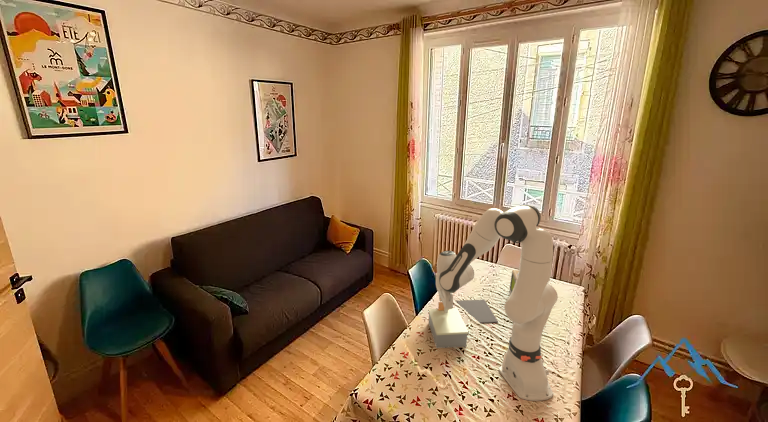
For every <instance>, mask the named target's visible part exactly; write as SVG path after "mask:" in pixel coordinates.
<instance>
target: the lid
mask: <svg viewBox="0 0 768 422" xmlns="http://www.w3.org/2000/svg"><path fill="white" fill-rule="evenodd" d="M437 307H438V308H428V315H429V314H430V317H431V320H432V323H433V326H434V329H435V332H436V335H454V334H467V335H468V334H469V330H468V328H467V326H466V324H465V322H464V319H463V317H462V314H461V313H460V311H459V309H458V307H453V308H452V309H448V312H447V313H444V305H443V303H442V301H441V302H440V301H439V302H438V305H437Z"/></svg>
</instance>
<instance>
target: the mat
mask: <svg viewBox="0 0 768 422" xmlns="http://www.w3.org/2000/svg"><path fill="white" fill-rule="evenodd" d="M456 303H457V304H458V305H459V306H460V307H461V308H462V309H463V310H465V312H467V313H468V314H469V315H470V316H471V317H472V318H474V319H475V320H476V321H477V322H478V323H479V324H493V323H494V324H495V323H499V320H498V319H497V317H496V315H495V314H494V313H493V311H492V309H491V308H490V306H489V305H488V303H487V302H486V300H485V299H467V300H464V299H463V300H456Z"/></svg>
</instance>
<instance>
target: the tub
mask: <svg viewBox="0 0 768 422" xmlns="http://www.w3.org/2000/svg"><path fill="white" fill-rule="evenodd" d="M428 326H429V329H430V332H431V335H432V339H433V342H434V345H435V349H441V348H443V349H444V348H461V347H463V348H464V347H467V341H468V334H454V335H436V332H435V329H434V326H433V323H432V320H431V317H430V314H429V313H428Z"/></svg>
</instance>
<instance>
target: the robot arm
mask: <svg viewBox="0 0 768 422" xmlns="http://www.w3.org/2000/svg"><path fill="white" fill-rule="evenodd" d="M541 215H542V214H541V212H540V210H539V209H538V208H537V207H535V206H534V205H531V204H521V205H518V206H515V207H511V208H510V209H507V210H506V211H502V210H501V209H499V208H496V207H495V208H493V207H492V208H488V209H487V210H485V211H484V213H482V215H481V216H480V217H479V219H478V220H477V222H476V224H475V225H474V226H473V229H472V230H471V232H470V234H469V235H468V236H467V239H466V240H465V242H464V243H463V245H462V247H461V249H460V250H459V252H458V253H457V254H456V252H455V251H452V250H444V251H442V252H440V253H438V257H437V260H436V261H437V262H436V271H437V272H436V273H434V274H435V275H434V278H435V288H436V291H437V293H438V300H439V302H442V303H443V305H444V313H447V312H448V309H452V308H454V307H453V306H454V295H453V294H454V293H456V292H457V291H458V290H460V289H461V288H462V287H464V286H465V285H466V284H469V283H470V282H472V280H473V279H474V277H475V270H474V267H473V266H472V265H471V263H472V262H474V261H475V260H476V259H477V258H479V257H481V256H483V255H485V254H486V253H488V252H489V251H491V249H493V248H494V246H495V245H497V243H498V242H499V240H500V238H502V239H504V240H508V241H511V242H513V243H514V244H519V243H520V244H521V245H520V246H521V247H520V248H521V249H520V260H519V267H518V268H519V269H518V270H519V273H518V277H517V280H516V283H515V285H514V288H513V291H512V293H511V295H509V297H508V299H506V301H505V303H504V307H503V308H504V309H503V310H504V311H505V314H506V316H507V318H508V319H509V320H510V321H512V322H513V323H512V328H511V335H510V338H509V340H508V349H507V350H506V352H505V354H504V357H503V360H502V363H501V365H500V366H499V368H498V372H499V374H500V375H501V376H502V378H503V379H504V380H505V381H506V382H507V383H508V385H509V386H510V387H511V389H512V391H514V393H515V394H516V395H517V397H518V398H519V399H522V400H526V401H533V402H534V401H537V402H538V401H546V400H549V399H551V398H553V396H554V392H553V389H552V387H551V385H550V383H549V379H548V376H549V374H550V371H549V369H548V368H545V365H544V359H542V358H543V355H542V347H541V341H542V337H543V331H544V329H545V327H546V324H547V322H548V319H549V317H550V314H551V312H552V310H553V308H554V306H555V305H556V303H557V301H558V300H559V299H558V297H559V296H558V292H557V290H556V288H555V287H553V286H552V285H551V284H550V283H549V282H550V279H551V275H552V266H553V257H554V239H553V235H552V233H551V232H550V231H549V230H546V229H545V228H541V227H538V226H539V225H540V222H541V220H542V217H541Z"/></svg>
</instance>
